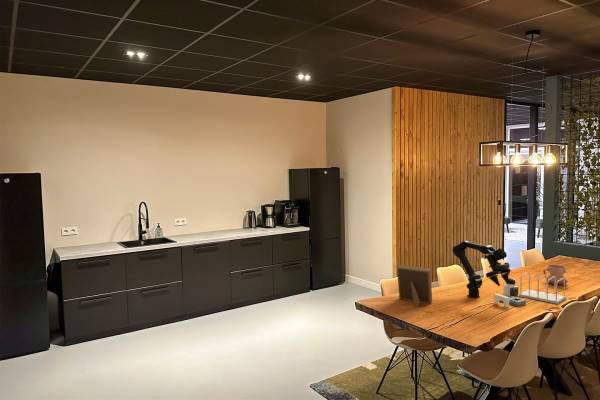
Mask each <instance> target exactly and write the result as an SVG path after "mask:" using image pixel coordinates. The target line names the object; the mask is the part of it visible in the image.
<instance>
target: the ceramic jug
mask: <svg viewBox="0 0 600 400" xmlns="http://www.w3.org/2000/svg"><path fill="white" fill-rule="evenodd" d="M546 271H547V272H549V274H550V275H548V276H547V282H548V280H549V279H550V278H552V277H553V276H555V278H556V283H557V281H558V280H560V279H562V278H564V279H565V285H566V284H567V283H568V282H569V281H568V279H567V278H566V277H564V274H569V273H570V272H569V271H567V267H566V266H565V265H562V264H561V265H560V264H548V265H547V267H546V268H544V269H543V270H542V272H543V273H542V274H543V276H544V275H547V273H546ZM544 277H545V279H546V276H544ZM555 278H552V279H551V280H549V282H548V284H550V285H554V286H555ZM564 279H562V280H561V281H559V282H558V283H557V286H564Z"/></svg>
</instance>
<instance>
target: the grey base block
mask: <svg viewBox="0 0 600 400" xmlns="http://www.w3.org/2000/svg"><path fill="white" fill-rule="evenodd" d="M503 296H507V297H510V302H509V305H512V306H515V307H522V306H525V305H527V300H526V299H523V298H519V297H517V296H516V297H513V296H509V295H503ZM500 302H502V303H504V301H500Z"/></svg>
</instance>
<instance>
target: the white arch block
mask: <svg viewBox="0 0 600 400" xmlns="http://www.w3.org/2000/svg"><path fill="white" fill-rule="evenodd" d="M493 300H494V301H493V302H494V305H500V302H501V301H504V302H503V307H504V308H509V307H510V304H509V302H510V297H507V296H503V295H502V294H499V293H494V294H493Z"/></svg>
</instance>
